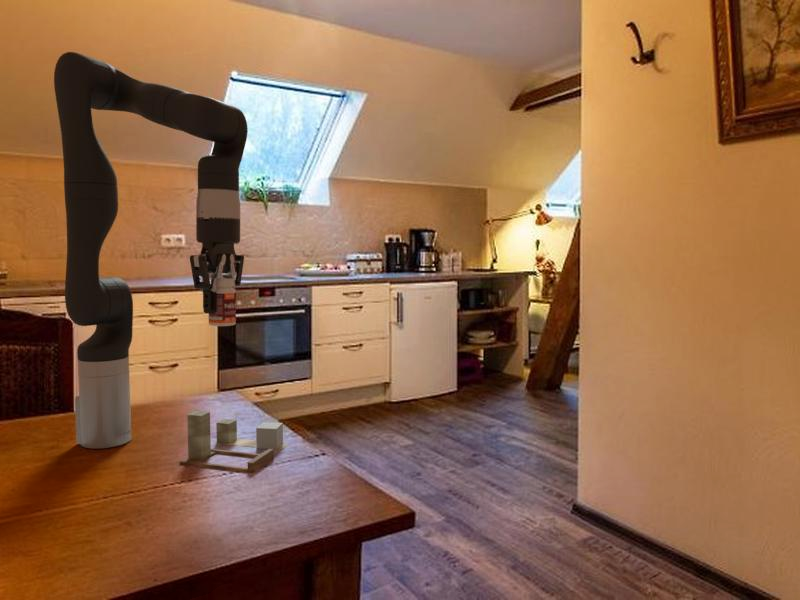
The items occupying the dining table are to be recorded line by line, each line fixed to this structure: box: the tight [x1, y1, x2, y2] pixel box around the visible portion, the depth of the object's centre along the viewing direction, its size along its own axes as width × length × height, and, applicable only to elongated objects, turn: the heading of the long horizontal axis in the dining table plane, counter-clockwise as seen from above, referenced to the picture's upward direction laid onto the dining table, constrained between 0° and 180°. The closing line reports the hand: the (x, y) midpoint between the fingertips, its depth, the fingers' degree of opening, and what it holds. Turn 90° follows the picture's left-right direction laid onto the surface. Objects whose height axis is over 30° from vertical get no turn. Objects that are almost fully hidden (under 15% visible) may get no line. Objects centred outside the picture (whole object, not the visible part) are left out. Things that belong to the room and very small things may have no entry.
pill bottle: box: [208, 278, 237, 327], centre depth 109 cm, size 5×5×8 cm
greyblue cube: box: [255, 421, 284, 450], centre depth 117 cm, size 4×4×4 cm
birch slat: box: [214, 418, 290, 451], centre depth 118 cm, size 14×4×5 cm, turn 74°
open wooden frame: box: [179, 410, 275, 474], centre depth 108 cm, size 14×8×9 cm, turn 74°
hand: (218, 311), depth 109 cm, fingers closed on pill bottle, 4 cm apart
